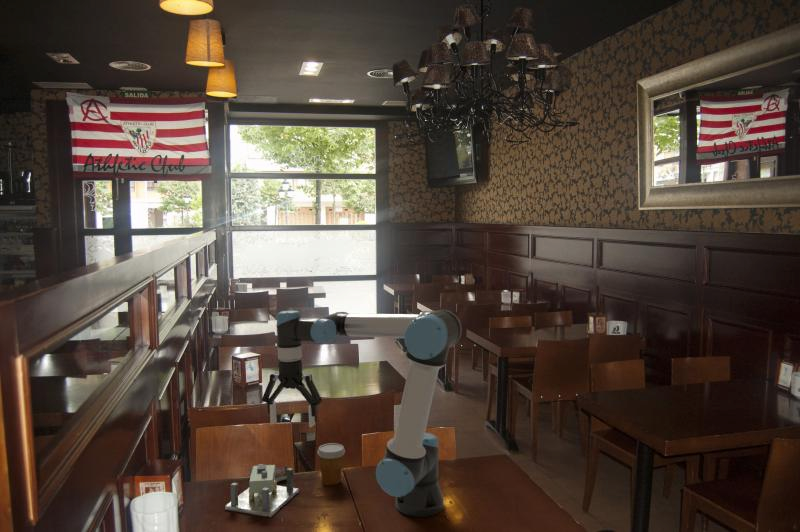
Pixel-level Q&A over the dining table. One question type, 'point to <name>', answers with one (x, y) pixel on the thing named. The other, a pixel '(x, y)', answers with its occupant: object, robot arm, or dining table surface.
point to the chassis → (262, 498)
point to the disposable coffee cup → (331, 462)
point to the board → (262, 478)
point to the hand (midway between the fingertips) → (292, 424)
